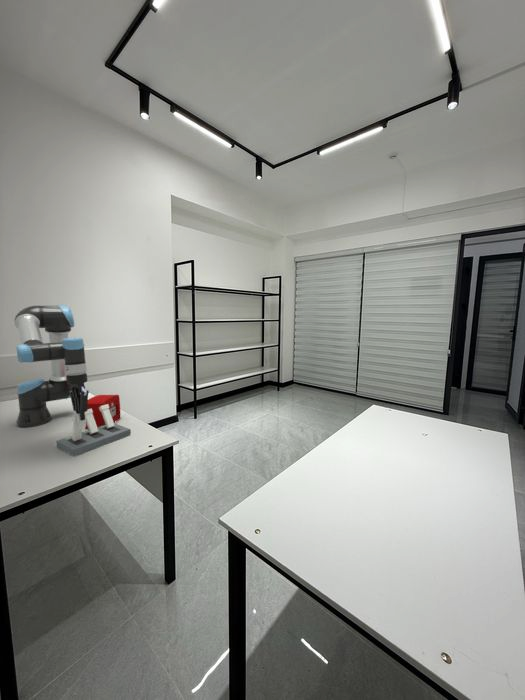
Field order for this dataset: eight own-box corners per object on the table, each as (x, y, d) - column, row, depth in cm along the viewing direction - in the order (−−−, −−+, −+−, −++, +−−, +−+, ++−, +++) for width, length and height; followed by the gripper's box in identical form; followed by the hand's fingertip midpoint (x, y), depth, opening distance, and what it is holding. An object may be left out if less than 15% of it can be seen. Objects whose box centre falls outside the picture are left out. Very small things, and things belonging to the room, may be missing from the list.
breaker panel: (56, 446, 131) (56, 440, 130) (113, 427, 152) (112, 422, 152) (73, 456, 122) (73, 449, 122) (130, 435, 144) (130, 429, 143)
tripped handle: (71, 439, 129) (72, 416, 126) (79, 436, 132) (80, 413, 129) (73, 441, 128) (74, 418, 125) (82, 438, 131) (83, 416, 128)
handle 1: (89, 434, 136) (81, 412, 138) (97, 432, 139) (89, 409, 141) (91, 433, 135) (83, 410, 137) (99, 430, 138) (91, 408, 140)
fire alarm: (105, 429, 150) (103, 401, 148) (84, 429, 150) (82, 401, 148) (121, 418, 166) (119, 393, 164) (102, 418, 166) (100, 393, 164)
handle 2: (106, 429, 143) (98, 407, 145) (113, 426, 146) (106, 405, 148) (108, 427, 141) (100, 405, 143) (115, 425, 144) (108, 404, 146)
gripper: (59, 374, 124) (65, 427, 126) (74, 376, 117) (80, 432, 119) (78, 371, 130) (84, 422, 132) (93, 373, 123) (98, 426, 125)
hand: (82, 427), depth 126 cm, fingers closed
